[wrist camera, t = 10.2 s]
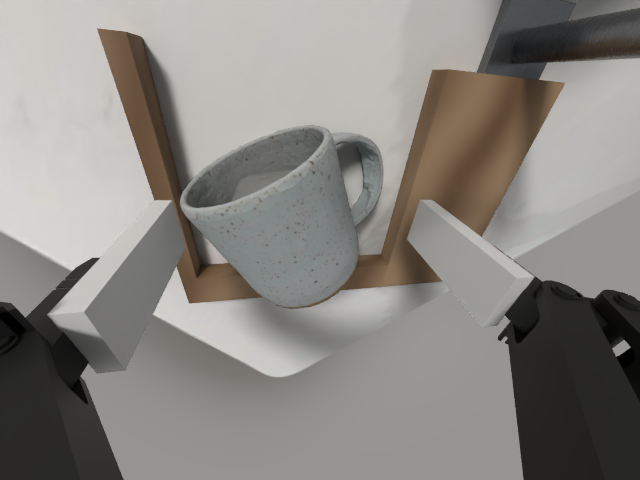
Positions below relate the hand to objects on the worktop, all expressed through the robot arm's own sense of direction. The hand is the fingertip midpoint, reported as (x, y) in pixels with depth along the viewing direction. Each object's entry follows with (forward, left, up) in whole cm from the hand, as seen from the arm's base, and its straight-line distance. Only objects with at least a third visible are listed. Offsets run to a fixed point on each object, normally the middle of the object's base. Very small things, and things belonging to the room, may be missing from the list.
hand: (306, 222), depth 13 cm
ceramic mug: (0, -1, -4) cm, 5 cm away
